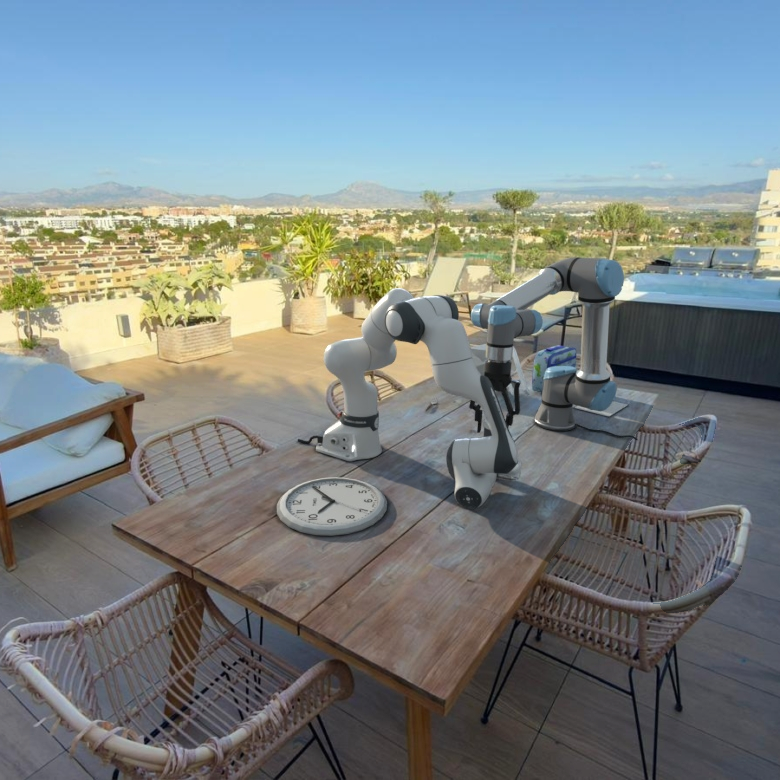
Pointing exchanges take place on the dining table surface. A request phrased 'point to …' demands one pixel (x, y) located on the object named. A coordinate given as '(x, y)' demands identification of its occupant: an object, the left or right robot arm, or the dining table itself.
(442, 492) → the dining table surface
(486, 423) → the lid
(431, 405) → the fork
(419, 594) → the dining table surface
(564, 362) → the lunch box
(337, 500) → the wall clock
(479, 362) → the white plastic object
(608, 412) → the invitation card
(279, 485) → the dining table surface
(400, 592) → the dining table surface
